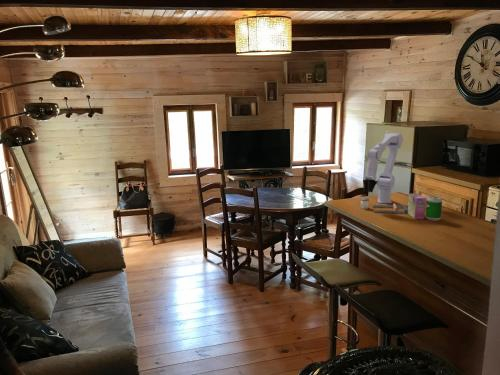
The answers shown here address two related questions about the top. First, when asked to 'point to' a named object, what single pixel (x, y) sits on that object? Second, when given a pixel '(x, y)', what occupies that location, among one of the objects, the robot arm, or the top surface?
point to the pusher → (394, 207)
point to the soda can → (434, 208)
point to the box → (416, 206)
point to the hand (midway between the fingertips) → (368, 191)
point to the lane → (391, 207)
